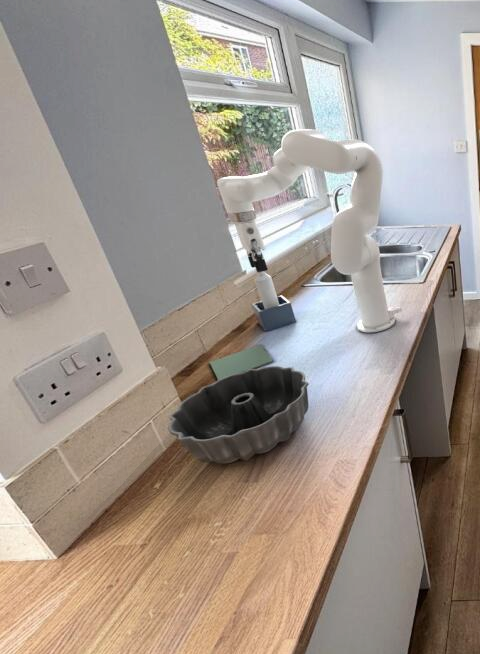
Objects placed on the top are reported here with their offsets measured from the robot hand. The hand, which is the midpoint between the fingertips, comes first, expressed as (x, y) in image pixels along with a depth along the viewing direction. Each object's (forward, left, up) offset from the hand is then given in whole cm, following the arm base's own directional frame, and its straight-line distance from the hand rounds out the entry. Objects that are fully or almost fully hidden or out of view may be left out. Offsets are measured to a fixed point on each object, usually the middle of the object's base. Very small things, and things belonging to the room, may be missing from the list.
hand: (259, 268), depth 138 cm
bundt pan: (+21, +60, -21) cm, 67 cm away
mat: (+16, +22, -21) cm, 34 cm away
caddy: (0, 0, -21) cm, 21 cm away
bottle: (0, 0, -20) cm, 20 cm away
